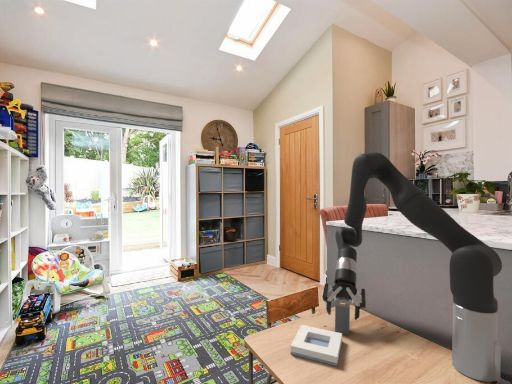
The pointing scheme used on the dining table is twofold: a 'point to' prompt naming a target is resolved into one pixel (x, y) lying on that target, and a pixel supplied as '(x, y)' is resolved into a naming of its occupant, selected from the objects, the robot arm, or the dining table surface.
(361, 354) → the dining table surface
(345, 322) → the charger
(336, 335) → the dock
